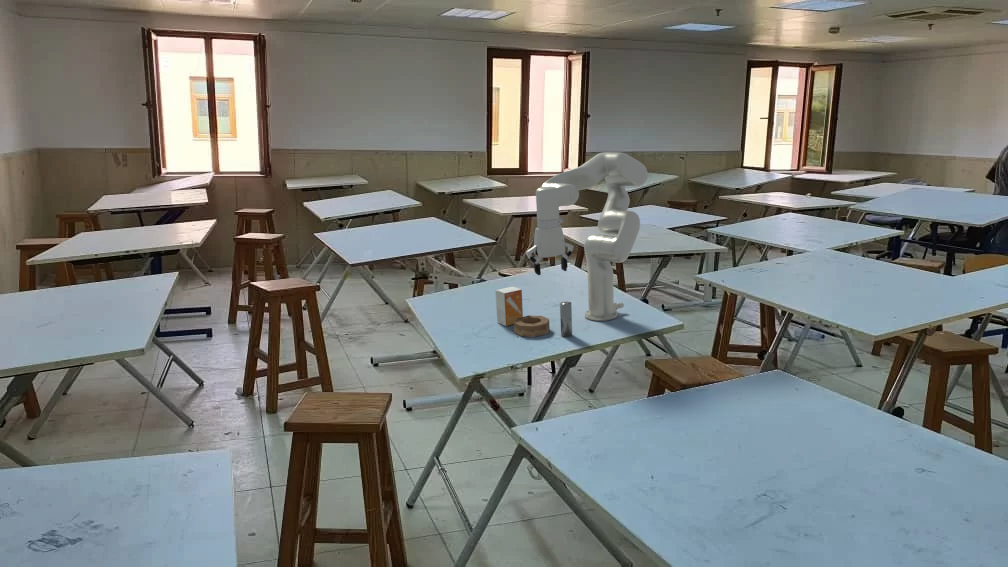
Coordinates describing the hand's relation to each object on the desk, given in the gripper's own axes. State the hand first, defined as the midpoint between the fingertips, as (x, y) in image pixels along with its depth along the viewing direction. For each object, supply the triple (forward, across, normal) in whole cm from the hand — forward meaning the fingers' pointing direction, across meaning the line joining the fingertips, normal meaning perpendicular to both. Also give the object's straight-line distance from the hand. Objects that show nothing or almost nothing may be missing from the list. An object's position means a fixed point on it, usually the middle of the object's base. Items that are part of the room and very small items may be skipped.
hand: (551, 272), depth 244 cm
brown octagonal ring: (+24, +5, -9) cm, 26 cm away
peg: (+24, -4, +1) cm, 24 cm away
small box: (+24, +9, -22) cm, 34 cm away
